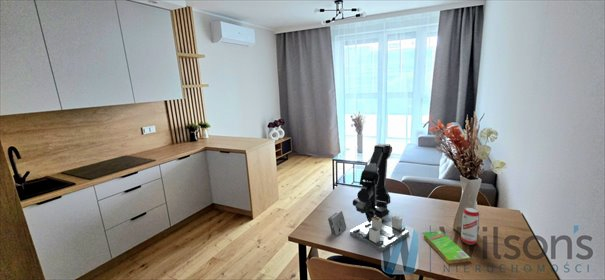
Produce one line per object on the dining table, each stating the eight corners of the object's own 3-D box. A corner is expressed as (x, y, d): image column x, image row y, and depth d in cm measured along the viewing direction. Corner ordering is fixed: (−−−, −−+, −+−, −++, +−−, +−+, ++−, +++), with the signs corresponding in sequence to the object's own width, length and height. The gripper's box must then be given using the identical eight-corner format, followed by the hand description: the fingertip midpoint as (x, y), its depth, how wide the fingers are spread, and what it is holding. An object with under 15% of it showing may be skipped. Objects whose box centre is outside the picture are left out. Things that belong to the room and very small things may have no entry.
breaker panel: (377, 219, 147) (377, 214, 146) (408, 234, 132) (409, 229, 131) (350, 234, 135) (350, 228, 134) (381, 252, 120) (381, 246, 119)
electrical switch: (337, 236, 134) (335, 219, 132) (328, 234, 137) (326, 217, 136) (346, 228, 141) (345, 211, 139) (338, 226, 144) (336, 209, 143)
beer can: (476, 247, 120) (480, 214, 117) (460, 243, 124) (463, 211, 120) (476, 239, 126) (479, 208, 122) (460, 236, 129) (463, 205, 125)
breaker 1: (375, 226, 136) (375, 215, 135) (381, 229, 133) (381, 218, 132) (371, 227, 135) (371, 217, 134) (378, 231, 132) (378, 220, 131)
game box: (447, 266, 111) (421, 236, 131) (470, 263, 112) (440, 234, 132) (448, 259, 110) (422, 230, 130) (471, 257, 111) (441, 228, 131)
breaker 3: (394, 224, 137) (395, 214, 136) (401, 227, 134) (402, 217, 133) (391, 226, 135) (391, 216, 134) (398, 229, 132) (399, 219, 131)
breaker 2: (372, 237, 127) (372, 226, 126) (379, 241, 124) (380, 229, 123) (369, 239, 126) (369, 228, 125) (376, 243, 123) (376, 231, 121)
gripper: (344, 192, 137) (345, 220, 140) (374, 205, 122) (373, 236, 125) (360, 186, 143) (360, 213, 146) (389, 198, 128) (389, 227, 132)
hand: (369, 222), depth 137 cm, fingers closed
